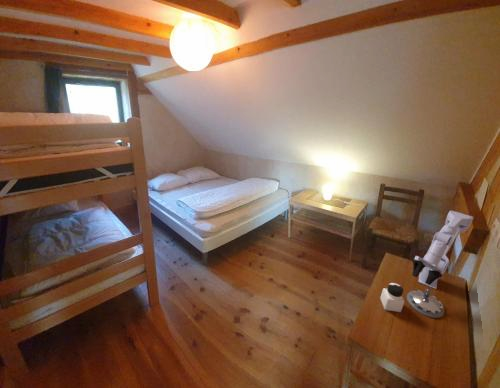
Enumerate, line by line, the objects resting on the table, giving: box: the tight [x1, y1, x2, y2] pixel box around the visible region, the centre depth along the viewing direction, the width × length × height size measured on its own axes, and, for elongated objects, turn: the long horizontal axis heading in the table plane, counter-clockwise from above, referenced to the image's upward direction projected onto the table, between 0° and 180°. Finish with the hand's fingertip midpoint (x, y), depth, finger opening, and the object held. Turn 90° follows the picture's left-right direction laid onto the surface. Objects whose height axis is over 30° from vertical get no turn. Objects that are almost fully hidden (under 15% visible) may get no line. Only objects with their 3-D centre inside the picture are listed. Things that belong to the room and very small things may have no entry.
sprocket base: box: [405, 290, 445, 319], centre depth 112 cm, size 15×15×1 cm
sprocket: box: [409, 287, 444, 314], centre depth 110 cm, size 13×13×5 cm
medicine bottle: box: [380, 282, 405, 313], centre depth 109 cm, size 7×7×12 cm
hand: (420, 280), depth 110 cm, fingers open, 7 cm apart
